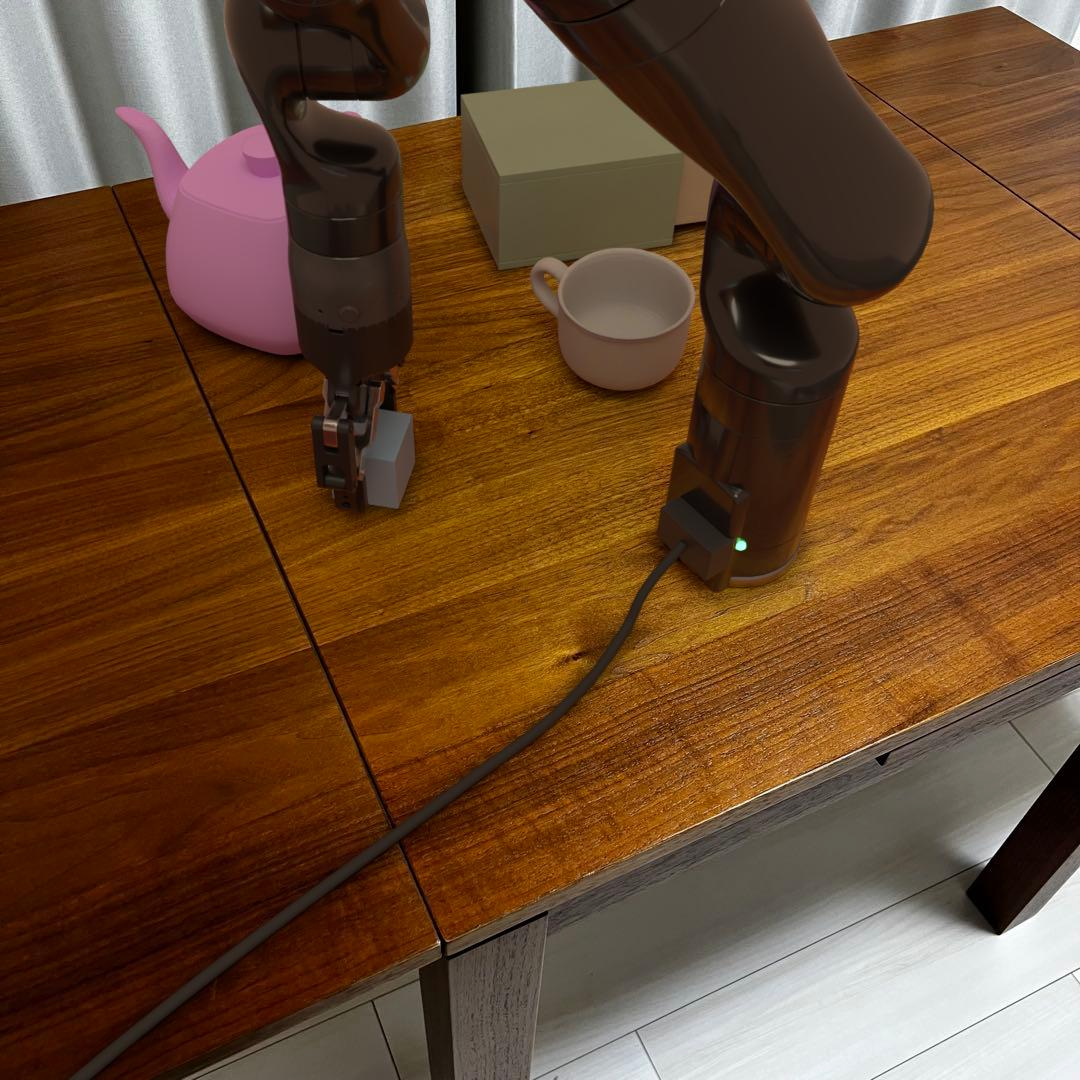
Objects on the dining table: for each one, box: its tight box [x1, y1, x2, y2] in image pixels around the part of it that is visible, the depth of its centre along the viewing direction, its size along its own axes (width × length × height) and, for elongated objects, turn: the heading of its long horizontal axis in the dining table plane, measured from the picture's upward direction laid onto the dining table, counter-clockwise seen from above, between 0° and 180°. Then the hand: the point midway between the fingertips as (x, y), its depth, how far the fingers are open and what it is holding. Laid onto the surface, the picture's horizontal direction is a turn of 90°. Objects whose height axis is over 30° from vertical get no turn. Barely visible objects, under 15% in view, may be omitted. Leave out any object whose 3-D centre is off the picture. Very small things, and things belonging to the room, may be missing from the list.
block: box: [331, 409, 416, 510], centre depth 87 cm, size 5×5×5 cm
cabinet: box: [460, 78, 685, 271], centre depth 109 cm, size 17×14×10 cm
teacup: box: [529, 248, 696, 391], centre depth 96 cm, size 14×11×8 cm
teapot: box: [115, 106, 363, 356], centre depth 99 cm, size 23×21×15 cm
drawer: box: [674, 155, 713, 226], centre depth 112 cm, size 20×12×8 cm, turn 106°
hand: (367, 466), depth 87 cm, fingers open, 8 cm apart
